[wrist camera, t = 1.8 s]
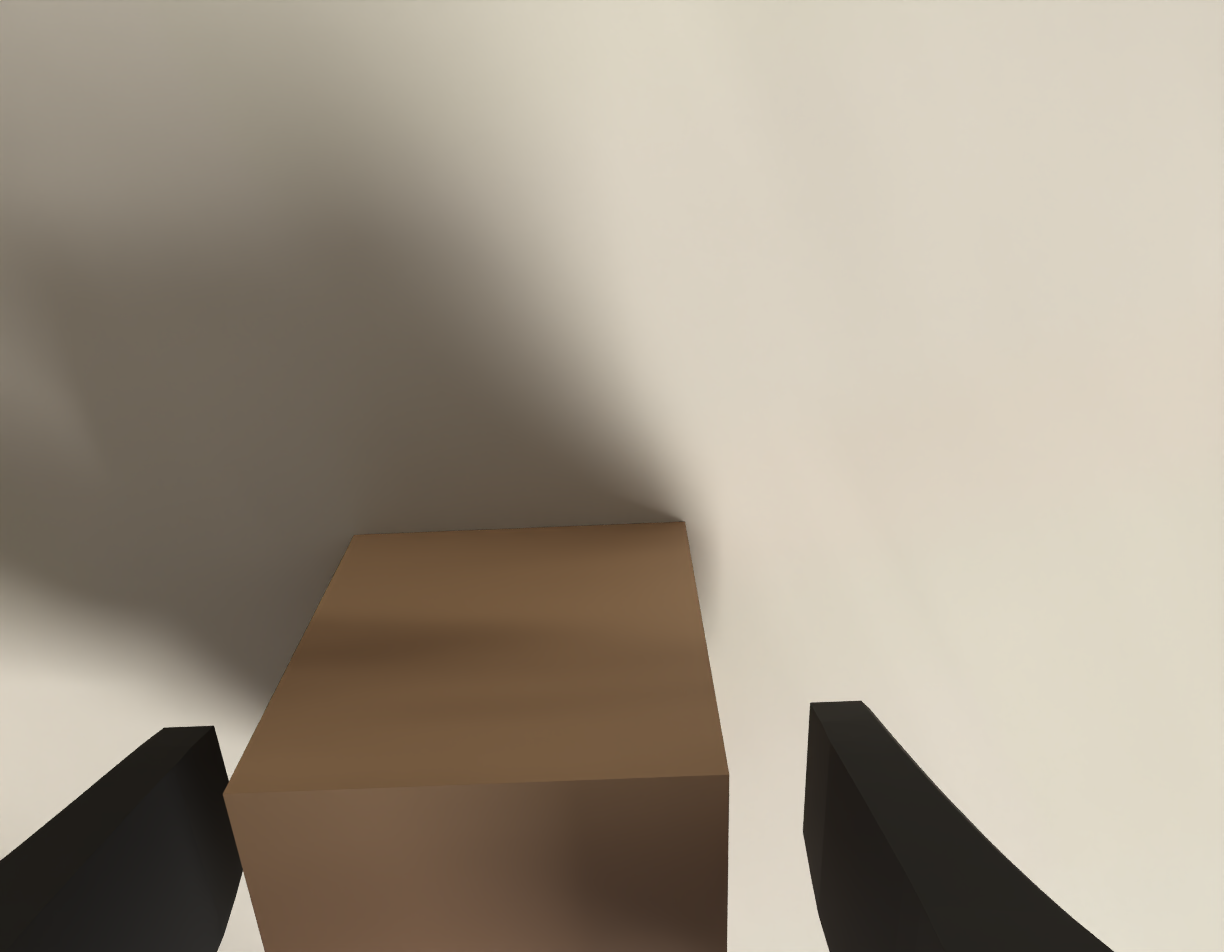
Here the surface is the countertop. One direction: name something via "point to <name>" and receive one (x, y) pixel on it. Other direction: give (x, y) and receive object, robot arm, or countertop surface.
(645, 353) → the countertop surface
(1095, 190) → the countertop surface
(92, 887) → the robot arm
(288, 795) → the walnut cube
